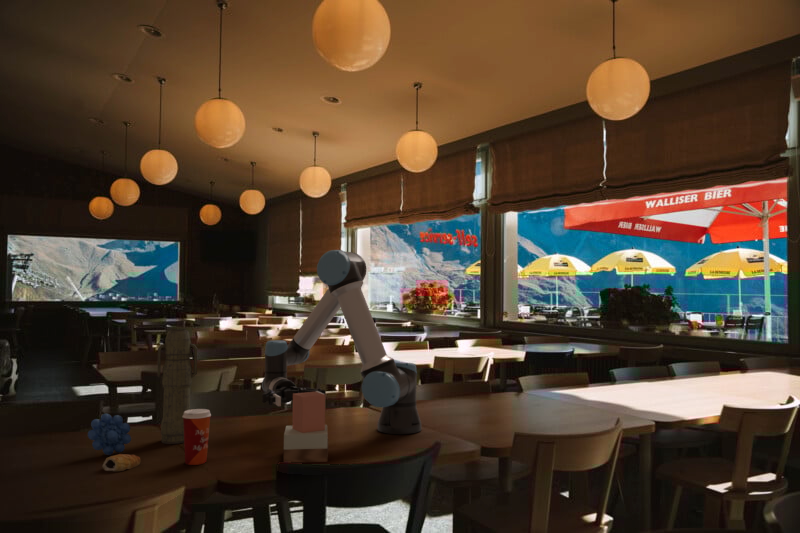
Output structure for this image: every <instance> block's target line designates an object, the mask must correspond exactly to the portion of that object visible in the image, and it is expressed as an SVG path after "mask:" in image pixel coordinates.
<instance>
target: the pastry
mask: <svg viewBox="0 0 800 533" xmlns="http://www.w3.org/2000/svg"><path fill="white" fill-rule="evenodd" d="M140 464H141V457H140V456H138V455H136V454H128V453H127V454H123V453H119V454H118V453H117V454H115V455H109V457H106V458H105V460H104V461H103V464H102V469H103V470H104V471H106V472H114V473H115V472H123V471H125V470H131V469H133V468H135V467H138V466H140Z"/></svg>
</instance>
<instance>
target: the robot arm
mask: <svg viewBox="0 0 800 533" xmlns="http://www.w3.org/2000/svg"><path fill="white" fill-rule="evenodd" d="M367 269H368V268H367V264H366V261H365V260H364V258H363V257H362V256H361V255H360V254H358V253H356V252H354V251H353V252H352V251H346V250H345V251H344V250H342V249H331V250H328V251H326V252H324V253H323V254H322V255H321V257H320V258H319V259H318V263H317V265H316V273H317V276H318V279H319V280H320V281H321V282H322V283H323V284H325V285H327V290H326V291H325V293H323V296H321V298H320V300H319V301H318V302H317V304H316V305H315V306H314V308H313V309H312V311H311V312H310V314H309V315H308V316H307V318H306V319H305V321H304V322H303V324H301V326H300V328H299V329H298V331H297V332H296V333H295V334H294V336H293V338H292V339H291V340H290V342H289V343H287V341H286V340H282V339H279V340H277V339H275V340H274V339H273V340H267V341H266V343H265V348H264V349H265V350H264V378H263V380H262V381H261V388H262V390H263V392H264V393H262V394H261V400H262V401H261V403H268V405H269V406H272V405H273V404H274V405H276V406H277V407H281V406H282V405H281V404H282V403H283V404H287V403H291V402H293V394H295V393H306V392H318V393H321V394H324V395H325V396H326V390H325V389H321V388H311V387H307V386H304V387H297V385H296V384H295V382H293V381H292V380H290V379H288V378H287V377H288V366H293V365H300V364H302V363H304V362H306V361H307V360H308V359H309V357H310V351H311V349H312V347H313V346H314V345H315V343H316V342H317V340H318V339H319V338H320V337H321V335H322V334H323V332H324V331H325V330H326V328H327V326H328V325H329V324H330V322H331V321H332V320H333V318H334V317H335V316H336V315H337V312H338V311H339V310H340V309H341V312H342V314H343V317H344V321H345V322H346V325H347V327H348V330H349V333H350V335H351V339H352V340H353V344H354V346H355V349H356V351H357V353H358V356H359V359H360V362H361V364H362V367H361V369H360V375H361V377H362V384H361V392H362V396H363V398H364V399H365V400H366V401H367V402H368V403H369V404H370V405H371V406H374V407H377V408H382V409H381V412H380V415H379V417H378V421H377V431H378V432H380V433H384V434H390V435H391V434H392V435H408V434H409V435H411V434H417V433H419V432H421V431H422V421H421V418H420V414H419V411H418V408H417V389H418V388H417V380H418V379H417V376H418V372H417V366H416V364H415V363H413V362H412V363H411V362H409V363H408V362H395V359H394V358H393V357H391V356H389V355H388V354H387V351H386V350H385V347H384V344H383V342H382V339H381V336H380V334H379V331H378V329H377V326H376V323H375V322H374V318H373V316H372V313H371V311H370V308H369V305H368V304H367V301H366V298H365V295H364V292H363V290H362V287H363V285H364V279H366V275H367Z"/></svg>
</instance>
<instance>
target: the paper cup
mask: <svg viewBox="0 0 800 533" xmlns="http://www.w3.org/2000/svg"><path fill="white" fill-rule="evenodd" d="M211 416H212V413H211V411H210V409H206V408H196V409H195V408H193V409H190V410H187V411H184V415H183V416H182V417H183V422H184V443H183V445H184V446H183V447H184V462H185V465H189V466H196V465H197V466H198V465H203V464H206V463H205V462H207V460H208V459H207V458H208V448H209V434H210V422H211Z"/></svg>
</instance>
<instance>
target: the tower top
mask: <svg viewBox="0 0 800 533" xmlns="http://www.w3.org/2000/svg"><path fill="white" fill-rule="evenodd" d="M328 433H329V432H328V424H325V430H321V431H313V432H306V433H301V432H299V431H297V430H295V429H293V425H286V426H285V430H284V433H283V451H284V450H286V449H326V448H327V444H328V445H329V438H328V435H329V434H328Z"/></svg>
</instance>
